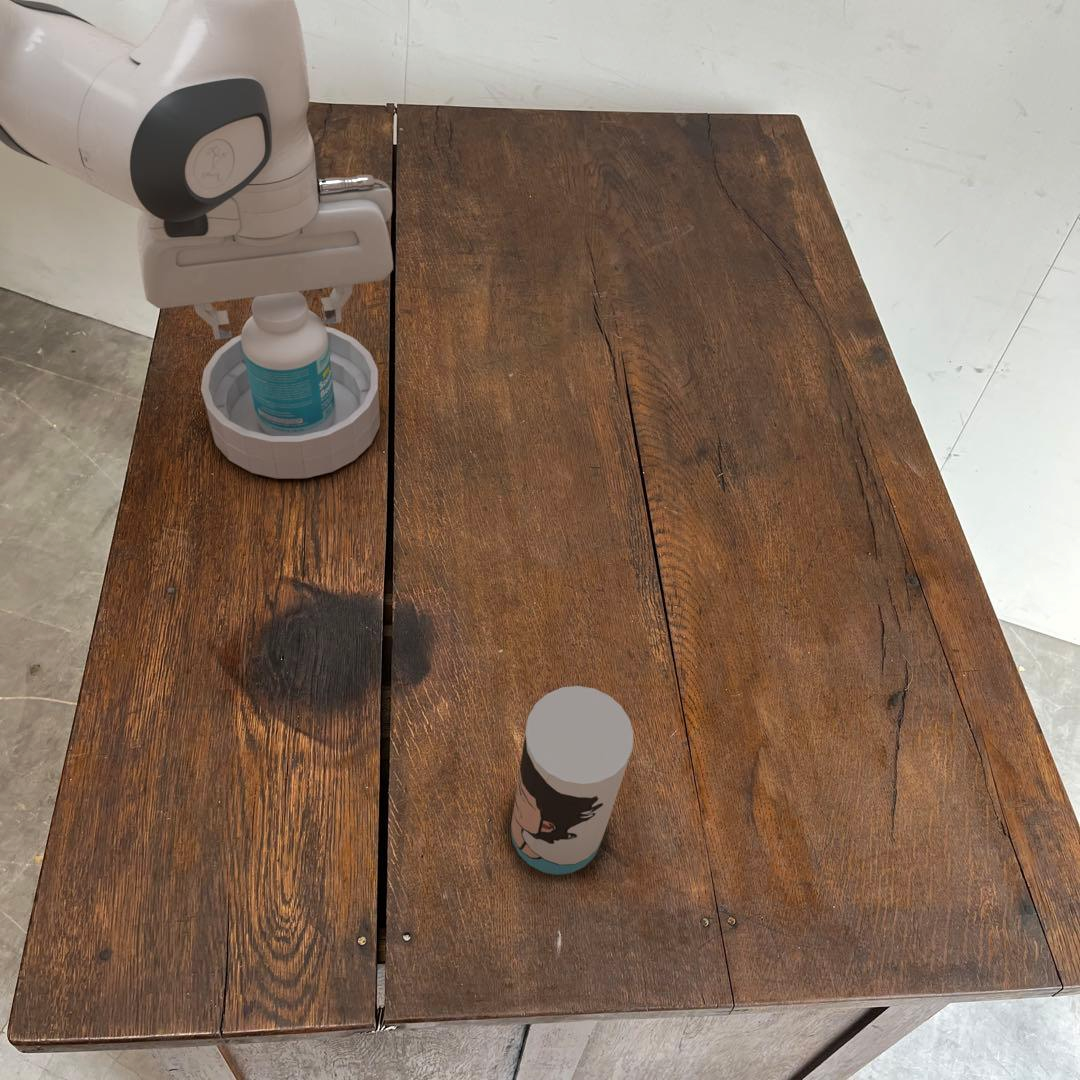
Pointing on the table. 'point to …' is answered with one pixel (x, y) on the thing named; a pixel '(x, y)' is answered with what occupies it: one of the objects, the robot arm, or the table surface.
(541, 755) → the printed label cylinder
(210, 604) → the table surface
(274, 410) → the pill bottle
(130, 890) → the table surface
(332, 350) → the faceted round dish
